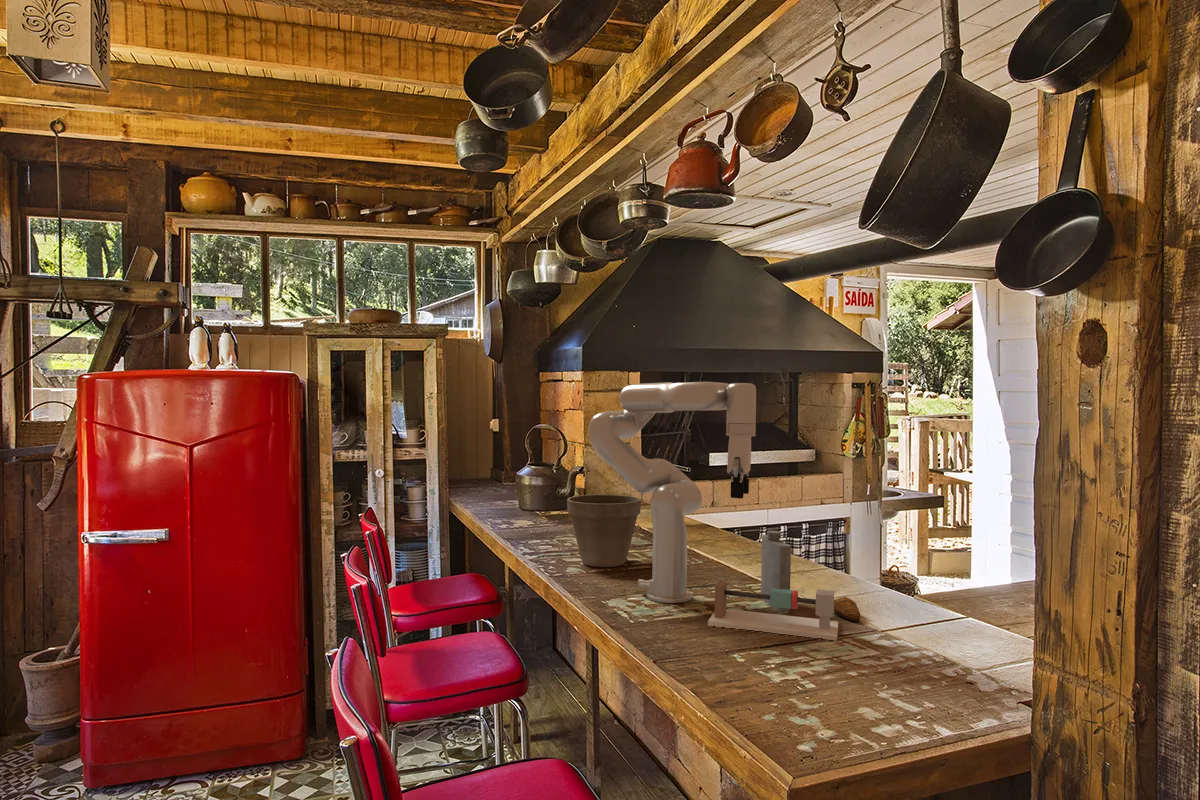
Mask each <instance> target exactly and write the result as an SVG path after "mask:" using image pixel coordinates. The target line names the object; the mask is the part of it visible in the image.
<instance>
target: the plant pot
mask: <svg viewBox="0 0 1200 800" xmlns="http://www.w3.org/2000/svg"><path fill="white" fill-rule="evenodd" d="M641 502H642V498H640V497H638V496H633V495H623V494H582V495H574V496H571V497H568V498H567V500H566V505H567V514H568V515H570V518H571V523H572V527H573V531H574V534H575V535H574V536H575V540H576V543H577V548H578V552H579V556H580V559H581V562H582V563H583V564H584V565H586V566H588V567H593V568H594V567H595V568H597V567H598V568H613V567H614V568H615V567H620V566H622V565H625V563H626V562H627V558H628V555H629V552H630V548H631V544H632V540H633V536H634V531H635V527H636V523H637V518H638V515H640V514H641V507H642V506H641V505H642V503H641Z"/></svg>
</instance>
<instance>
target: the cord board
mask: <svg viewBox="0 0 1200 800" xmlns="http://www.w3.org/2000/svg"><path fill="white" fill-rule="evenodd" d="M727 583H728V581H726V580H718V581H717V582H716V584H715V585H714V589H715V590H714V611H713V613H712V614H711V616H710V618H709V619H708V620H707V627H713V626H715V628H721V627H725V629H730V628H736V629H735V630H738V629H746V630H754V631H764V632H772V633H782V634H790V635H798V636H806V637H815V638H823V639H830V640H837V641H838V635H837V634H839V633H838V632H839V621H837V620H831V618H834V614H835V612H834V600H835V590H831V589H822V588H821V589H820V588H817V589H816V592H815V598H805V597H799V591H798V590H796V589H795V590H792V589H791V590H792V599H791V602H792V603H791V605H792V607H791V609H792V610H798V607H799V606H798V605H799V604H807V605H815V616H818V618H814V617H813V618H812V617H802V616H794V615H786V614H774V613H766V612H758V611H750V610H749V611H748V610H739V609H731V608H730V609H729V608H727V596H730V597H731V596H733V597H740V598H751V599H758V600H759V599H760V600H762V599H768V600H770V595H769V594H761V593H756V592H748V591H738V590H730V589H729V590H728V589H727ZM746 630H745V631H746ZM754 631H753V632H754Z"/></svg>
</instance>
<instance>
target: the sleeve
mask: <svg viewBox="0 0 1200 800" xmlns="http://www.w3.org/2000/svg"><path fill="white" fill-rule="evenodd" d="M791 599H792V589H790V590H785V589H775V588H772V589H771V591H770V607H779V608H788V609H790V610H791V609H792V605H791V603H792V602H791ZM770 607H769V608H770Z"/></svg>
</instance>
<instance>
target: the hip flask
mask: <svg viewBox="0 0 1200 800" xmlns="http://www.w3.org/2000/svg"><path fill="white" fill-rule="evenodd" d="M780 536H781V531H779V530H766V534H762V535H761V571H760V572H761V577H760V578H761V579H760V581H761V582H760V584H761V585H760V594H769V595H770V591H771V589H772V588H775V589H785V590H791V574H792V573H791V569H792V568H791V567H792V565H791V564H792V560H791V558H792V550H791V549H792V545H791V544H789V543H786V542H783V541H781V540H780V538H781V537H780ZM763 600H764V602H765V603H767V604H768V605H769V606H770V600H768V599H763ZM763 600H762V601H763ZM764 602H763V603H764ZM765 603H764V604H765ZM768 605H767V606H768ZM769 606H768V607H769ZM772 608H774V609H775V610H777V611H779V612H785V613H786V612H790V613H791V609H788V608H779V607H772ZM772 608H771V609H772ZM775 610H774V611H775ZM777 611H776V612H777ZM779 612H778V613H779Z"/></svg>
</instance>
